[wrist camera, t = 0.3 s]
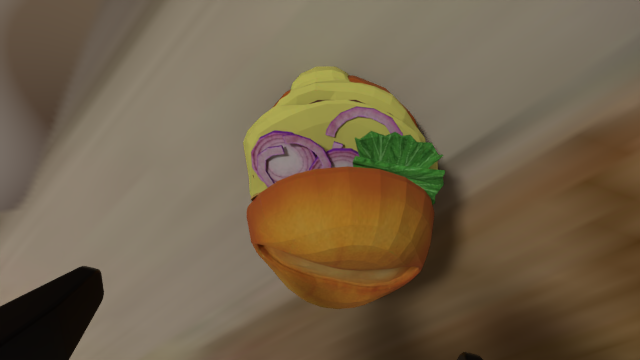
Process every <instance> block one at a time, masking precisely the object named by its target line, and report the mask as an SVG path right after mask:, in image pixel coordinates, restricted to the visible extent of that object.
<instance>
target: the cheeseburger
mask: <svg viewBox="0 0 640 360" xmlns="http://www.w3.org/2000/svg"><path fill="white" fill-rule="evenodd" d="M243 145H244V151H245V157H246V163H247V169H248V175H249V188H250V195H251V200H252V203H251V204H250V205H249V206H248V209H247V221H248V226H249V232H250V237H251V242H252V244H253V246H254V248H255V250H256V252H257V253H258V254H259V256H260V257H261V258H262V259H263V260H264V261H265V262H266V263H267V264H268V266H269V267H270V268H271V269H272V270H273V271H274V272H275V274H276V275H277V276H278V277H279V278H280V280H281V281H282V282H283V283H284V284H285V285H286V286H287V288H288V289H290V290H291V291H292V292H294V293H295V294H296V295H298V296H299V297H300V298H302V299H304V300H305V301H307V302H309V303H312V304H315V305H317V306H320V307H325V308H334V309H341V308H354V307H358V306H362V305H365V304H367V303H370V302H372V301H374V300H377V299H379V298H381V297H383V296H385V295H387V294H389V293H391V292H393V291H395V290H397V289H399V288H401V287H402V286H404V285H405V284H407V283H408V282H410V281H411V280H412V279H414V278H415V276H416V275H417V274H418V273H419V272H420V271H421V270H422V267H423V265H424V262H425V260H426V257H427V254H428V251H429V247H430V244H431V237H432V230H433V222H434V209H433V204H434V203H435V195H436V194H437V193H438V191H439V190H440V189H441V187H442V186H443V185H444V182H443V176H444V174H445V171H444V170H438V160H439V159H440V158H441V157H442V156H443V155H439V154H438V153H437V152H436V150H435V148H434V146H433V145H432V143H427V142H426V141H425V138H424V136H423V135H422V134H421V132H420V131H419V130H418V127H417V124H416V122H415V119H414V117H413V116H412V115H411V113H410V112H409V111H408V110H407V109H406V108H405V107H404V106H403V105H402V104H401V103H400V102H399V101H398V100H397V99H396V98H395V97H394V96H393V95H392V94H391V93H390V92H389V91H388V90H387V89H386V88H384V87H381V86H379V85H376V84H374V83H371V82H369V81H366V80H364V79H361V78H359V77H356V76H349V75H348V74H347V73H346V72H344V71H342V70H341V69H339V68H337V67H315V68H313V69H311V70H308V71H306V72H304V73H302V74H300V75H299V76H298V78H297V79H296V80H295V81H294V82H293V84H292V86H291V89H290V90H289V91H287V92H286V93H285V94H284V95H283V96H282V97H281V98H280V100H279V101H278V102H277V103H276V104H275V105H274V106H273V108H272V109H270V110H269V111H268V112H266V113H265V114H264V115H262V116H261V117H260V118H259V119H258V120H257V121H256V122H255V123H254V124H253V125H252V127H251V128H250V129H249V130H248V131H247V134H246V137H245V139H244V142H243Z"/></svg>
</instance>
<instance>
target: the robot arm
mask: <svg viewBox="0 0 640 360" xmlns="http://www.w3.org/2000/svg"><path fill="white" fill-rule="evenodd" d="M103 295H104V290H103V283H102V275H101V272H100V270H99V269H96V268H91V267H87V266H82V267H79V268H77V269H75V270H73V271H71V272H69V273H67V274H65V275H63V276H61V277H59V278H57V279H55V280H53V281H51V282H49V283H47V284H45V285H43V286H41V287H39V288H36V289H34V290H32V291H30V292H28V293H26V294H24V295H22V296H20V297H18V298H16V299H14V300H12V301H10V302H8V303H6V304H4V305H2V306H0V360H69V358H70V357H71V355H72V353H73V352H74V350H75V348H76V346H77V345H78V343H79V341H80V339H81V337H82V336H83V334H84V332H85V330H86V329H87V327H88V325H89V323H90V321H91V320H92V318H93V316H94V314H95V313H96V311H97V309H98V307H99V305H100V304H101V302H102V299H103ZM457 360H483V359H482V358H481V357H480V356H479V355H476V354H471V353H467V352H463V353H461V354H460V355H459V357H458V359H457Z"/></svg>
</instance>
